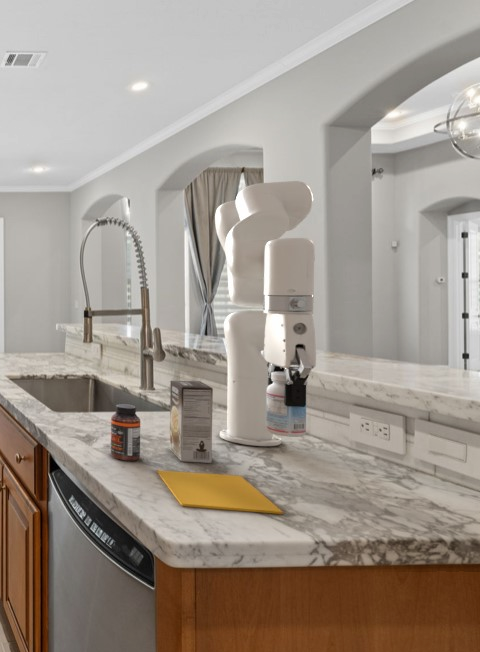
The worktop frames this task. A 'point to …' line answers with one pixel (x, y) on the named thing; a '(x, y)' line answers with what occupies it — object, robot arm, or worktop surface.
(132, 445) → the supplement bottle
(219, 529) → the worktop surface
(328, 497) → the worktop surface
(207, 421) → the coffee box
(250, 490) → the cloth
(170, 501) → the worktop surface
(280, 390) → the pill bottle
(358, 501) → the worktop surface
